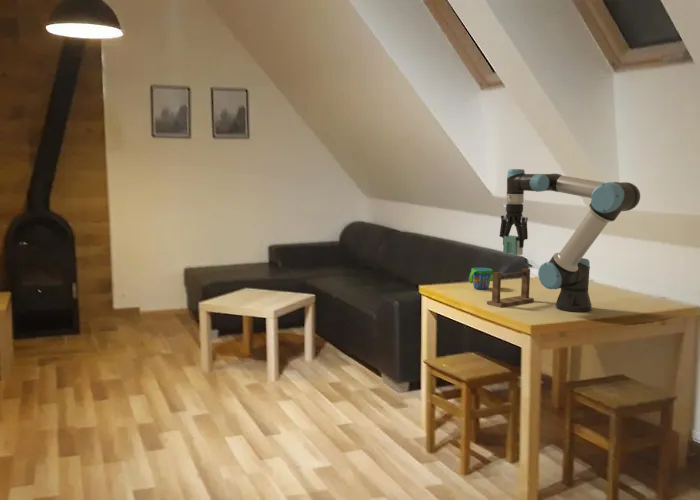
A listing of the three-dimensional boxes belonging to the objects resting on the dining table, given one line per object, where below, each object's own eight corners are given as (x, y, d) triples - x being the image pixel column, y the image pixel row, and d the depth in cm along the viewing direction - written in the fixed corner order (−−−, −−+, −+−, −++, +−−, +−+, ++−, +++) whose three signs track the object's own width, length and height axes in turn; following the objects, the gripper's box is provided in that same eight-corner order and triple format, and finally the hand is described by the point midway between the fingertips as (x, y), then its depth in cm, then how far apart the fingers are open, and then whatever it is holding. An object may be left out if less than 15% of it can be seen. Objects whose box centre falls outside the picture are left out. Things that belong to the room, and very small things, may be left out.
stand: (520, 298, 344) (521, 267, 342) (533, 301, 337) (535, 269, 335) (486, 304, 330) (488, 271, 328) (500, 307, 324) (501, 274, 322)
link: (510, 252, 335) (511, 235, 334) (522, 254, 329) (523, 236, 328) (503, 253, 332) (503, 236, 331) (515, 255, 326) (515, 237, 325)
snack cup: (486, 285, 378) (487, 266, 376) (499, 289, 369) (500, 269, 367) (462, 288, 370) (463, 268, 369) (475, 291, 361) (476, 271, 360)
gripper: (492, 202, 333) (490, 251, 336) (526, 204, 318) (524, 256, 321) (503, 201, 338) (501, 250, 341) (537, 204, 322) (535, 255, 325)
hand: (512, 253), depth 331 cm, fingers closed on link, 7 cm apart
